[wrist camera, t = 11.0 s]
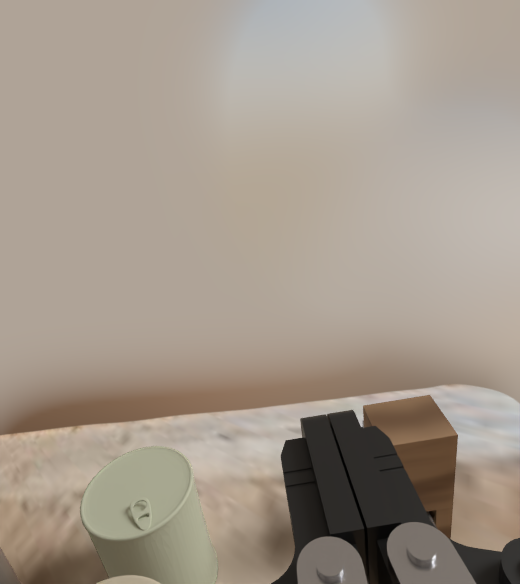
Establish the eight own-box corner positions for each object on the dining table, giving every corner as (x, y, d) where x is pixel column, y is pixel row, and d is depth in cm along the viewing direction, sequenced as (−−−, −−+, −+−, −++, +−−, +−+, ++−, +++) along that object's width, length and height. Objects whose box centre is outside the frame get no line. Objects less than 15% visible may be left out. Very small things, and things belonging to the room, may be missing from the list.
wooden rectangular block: (450, 540, 39) (457, 434, 34) (384, 551, 39) (382, 447, 34) (426, 494, 43) (429, 394, 38) (367, 503, 43) (363, 405, 38)
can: (125, 655, 35) (79, 558, 30) (112, 557, 42) (74, 467, 38) (232, 597, 38) (206, 500, 33) (201, 515, 45) (177, 427, 40)
